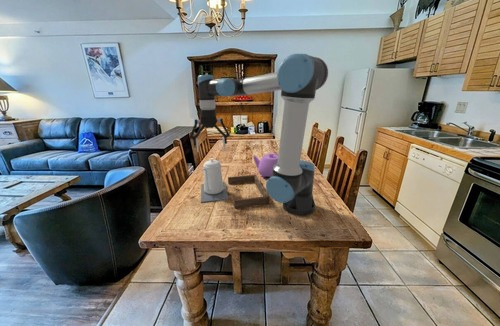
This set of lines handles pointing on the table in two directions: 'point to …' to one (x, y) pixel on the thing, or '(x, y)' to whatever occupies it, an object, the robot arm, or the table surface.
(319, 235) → the table surface
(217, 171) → the coffeepot
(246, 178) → the bracket
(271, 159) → the teapot
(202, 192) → the trivet
